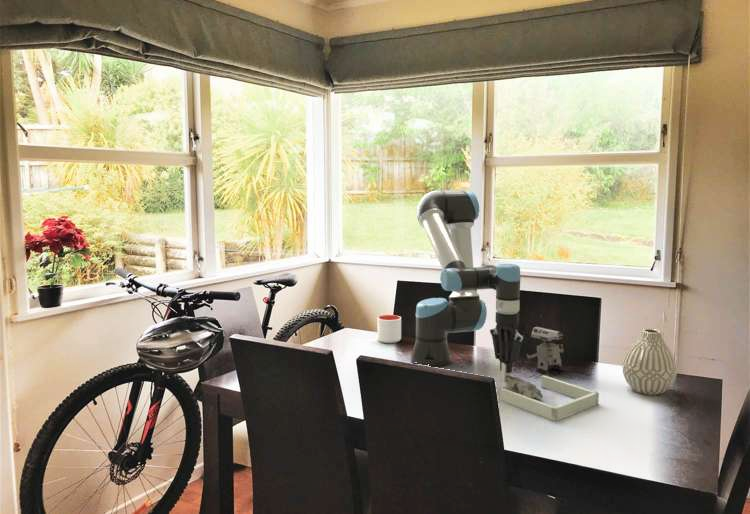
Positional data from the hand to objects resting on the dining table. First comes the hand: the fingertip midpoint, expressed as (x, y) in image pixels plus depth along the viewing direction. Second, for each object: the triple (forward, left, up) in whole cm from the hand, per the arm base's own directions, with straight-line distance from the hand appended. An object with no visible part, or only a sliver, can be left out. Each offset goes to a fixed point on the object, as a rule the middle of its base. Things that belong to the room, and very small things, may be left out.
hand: (505, 381), depth 199 cm
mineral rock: (+8, -1, -2) cm, 9 cm away
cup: (-68, +4, -2) cm, 68 cm away
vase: (+30, +34, -2) cm, 46 cm away
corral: (+17, 0, -2) cm, 17 cm away
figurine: (-4, +25, -2) cm, 25 cm away
